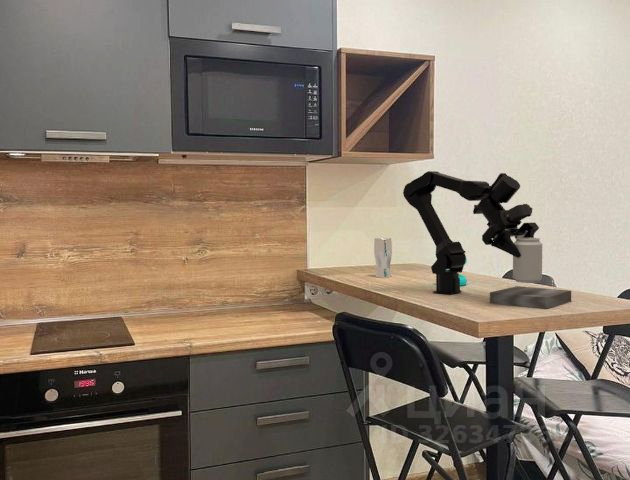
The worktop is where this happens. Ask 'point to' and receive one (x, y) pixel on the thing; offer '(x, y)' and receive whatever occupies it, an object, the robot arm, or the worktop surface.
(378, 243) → the white piece
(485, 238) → the robot arm
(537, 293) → the plinth
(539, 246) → the can
